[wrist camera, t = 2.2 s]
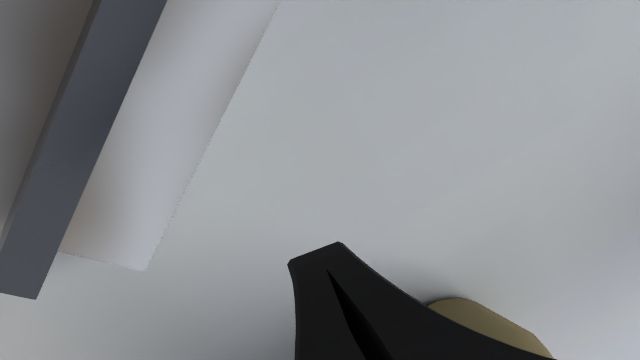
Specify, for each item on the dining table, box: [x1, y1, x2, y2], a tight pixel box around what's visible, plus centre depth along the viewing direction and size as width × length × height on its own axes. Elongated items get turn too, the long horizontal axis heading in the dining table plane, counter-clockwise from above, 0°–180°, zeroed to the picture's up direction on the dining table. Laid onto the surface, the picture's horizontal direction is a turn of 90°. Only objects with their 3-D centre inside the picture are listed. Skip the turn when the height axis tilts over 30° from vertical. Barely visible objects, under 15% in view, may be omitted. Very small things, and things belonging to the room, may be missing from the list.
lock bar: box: [0, 0, 167, 300], centre depth 14 cm, size 14×3×4 cm, turn 150°
